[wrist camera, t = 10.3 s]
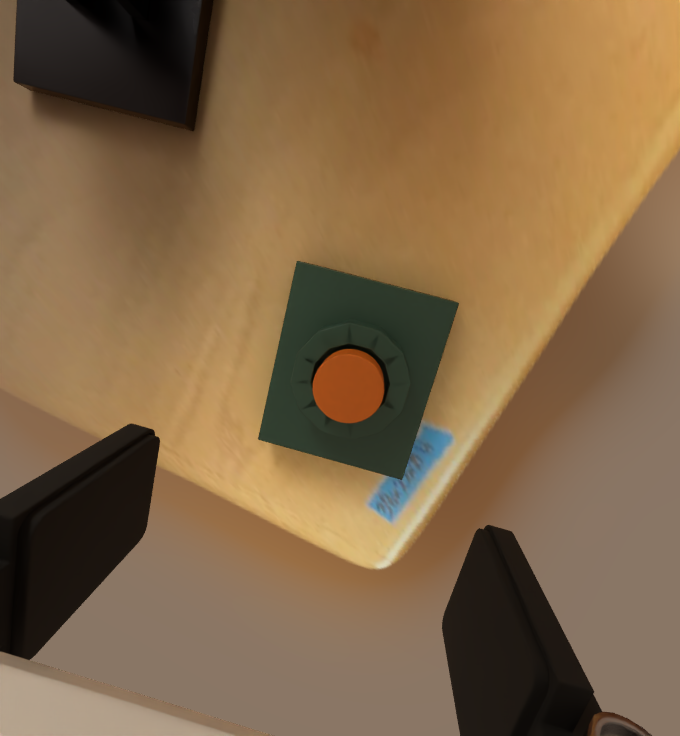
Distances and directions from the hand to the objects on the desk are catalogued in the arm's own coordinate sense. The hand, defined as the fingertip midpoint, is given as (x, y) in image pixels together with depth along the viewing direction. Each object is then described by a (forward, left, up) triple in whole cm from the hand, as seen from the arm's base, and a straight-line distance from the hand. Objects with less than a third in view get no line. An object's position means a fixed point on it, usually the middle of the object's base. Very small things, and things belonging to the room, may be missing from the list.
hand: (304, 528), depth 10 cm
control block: (0, 0, -18) cm, 18 cm away
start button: (0, 0, -14) cm, 14 cm away
